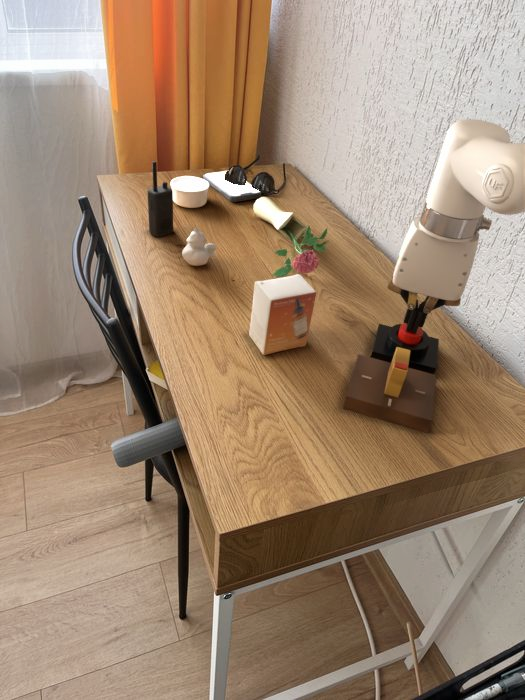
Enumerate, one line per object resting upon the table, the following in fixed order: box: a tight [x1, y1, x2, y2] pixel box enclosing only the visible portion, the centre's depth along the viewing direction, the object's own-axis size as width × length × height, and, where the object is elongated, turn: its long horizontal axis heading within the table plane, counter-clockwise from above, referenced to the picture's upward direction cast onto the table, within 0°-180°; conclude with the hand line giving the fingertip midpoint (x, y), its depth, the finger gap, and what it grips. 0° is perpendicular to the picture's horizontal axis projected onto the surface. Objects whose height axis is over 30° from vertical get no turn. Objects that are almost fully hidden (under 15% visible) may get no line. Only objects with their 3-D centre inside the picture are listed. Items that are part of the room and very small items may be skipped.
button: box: [398, 322, 424, 345], centre depth 83 cm, size 4×4×2 cm
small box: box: [248, 273, 317, 356], centre depth 82 cm, size 8×6×10 cm
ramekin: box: [170, 175, 210, 209], centre depth 122 cm, size 9×9×4 cm
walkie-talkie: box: [147, 160, 174, 237], centre depth 106 cm, size 5×3×15 cm
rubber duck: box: [181, 225, 217, 267], centre depth 100 cm, size 5×7×8 cm
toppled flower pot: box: [252, 196, 330, 277], centre depth 105 cm, size 12×12×35 cm
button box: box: [369, 323, 440, 375], centre depth 85 cm, size 10×8×4 cm
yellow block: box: [384, 347, 410, 398], centre depth 74 cm, size 5×2×5 cm, turn 163°
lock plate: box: [342, 353, 437, 433], centre depth 77 cm, size 12×10×3 cm
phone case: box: [202, 170, 262, 203], centre depth 131 cm, size 9×2×16 cm
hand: (411, 327), depth 82 cm, fingers closed
